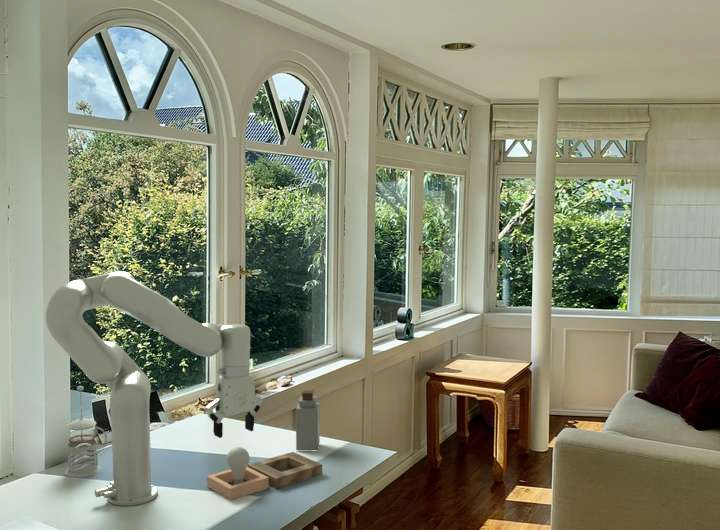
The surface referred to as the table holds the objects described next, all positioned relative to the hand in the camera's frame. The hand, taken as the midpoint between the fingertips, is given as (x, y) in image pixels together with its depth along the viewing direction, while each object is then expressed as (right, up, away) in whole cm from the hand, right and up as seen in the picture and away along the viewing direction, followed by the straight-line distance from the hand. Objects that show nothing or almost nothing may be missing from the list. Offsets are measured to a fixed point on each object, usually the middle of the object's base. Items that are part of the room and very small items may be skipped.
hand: (233, 433), depth 195 cm
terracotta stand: (+1, -15, +1) cm, 15 cm away
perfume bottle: (+18, -13, +34) cm, 40 cm away
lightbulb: (+1, -15, +2) cm, 15 cm away
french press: (-45, -14, +14) cm, 49 cm away
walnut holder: (+13, -14, +11) cm, 22 cm away
